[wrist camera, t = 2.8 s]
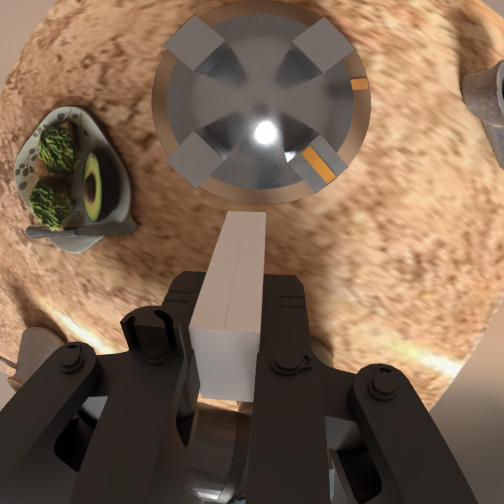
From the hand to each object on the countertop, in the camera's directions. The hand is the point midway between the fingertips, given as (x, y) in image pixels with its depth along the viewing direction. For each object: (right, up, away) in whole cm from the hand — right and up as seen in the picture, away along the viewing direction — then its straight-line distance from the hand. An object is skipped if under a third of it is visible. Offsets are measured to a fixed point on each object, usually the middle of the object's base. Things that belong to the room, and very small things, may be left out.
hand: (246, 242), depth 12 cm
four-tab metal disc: (+1, +13, +11) cm, 17 cm away
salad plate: (-21, +8, +18) cm, 29 cm away
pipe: (+26, +15, +11) cm, 32 cm away
